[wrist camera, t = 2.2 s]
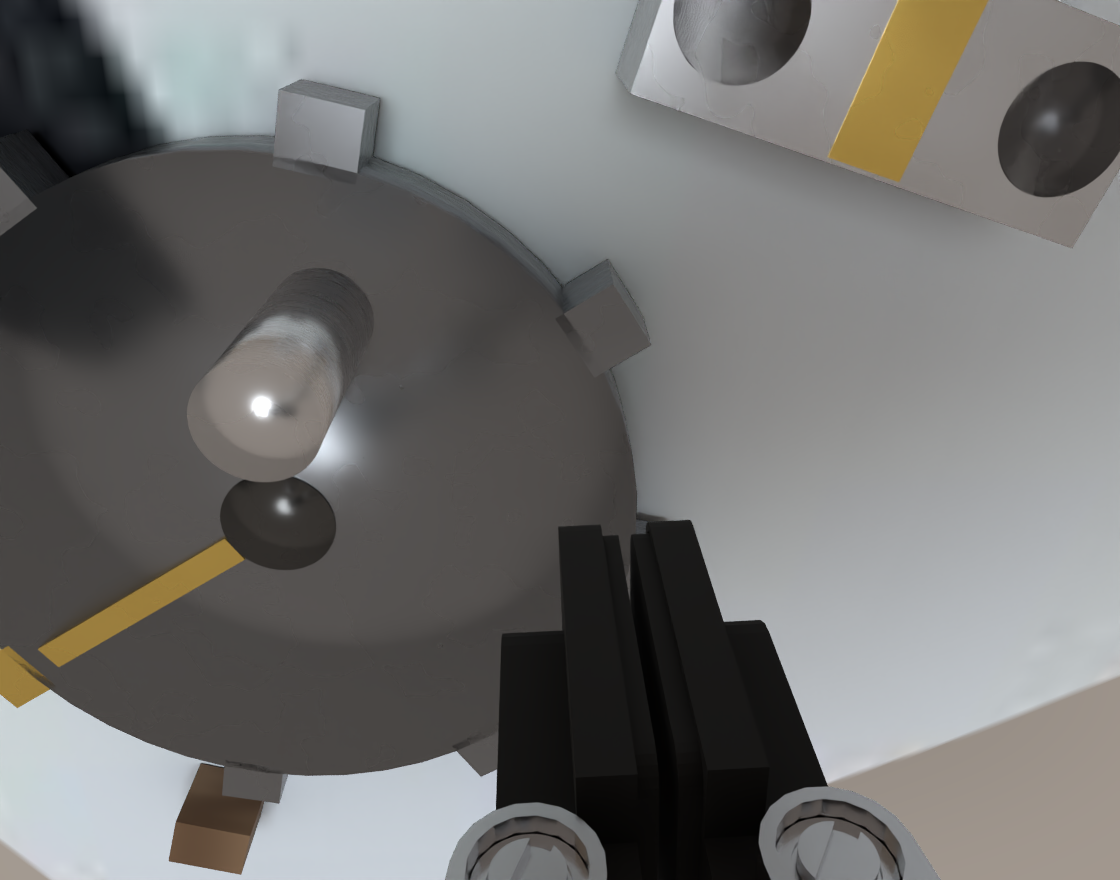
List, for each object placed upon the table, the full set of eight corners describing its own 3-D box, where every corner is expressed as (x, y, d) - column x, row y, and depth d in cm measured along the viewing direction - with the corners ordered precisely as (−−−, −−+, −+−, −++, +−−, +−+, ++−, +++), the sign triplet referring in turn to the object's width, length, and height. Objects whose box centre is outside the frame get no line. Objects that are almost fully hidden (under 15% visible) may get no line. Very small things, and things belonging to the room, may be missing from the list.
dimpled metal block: (1078, 39, 21) (1190, 53, 17) (988, 204, 22) (1073, 248, 19) (678, -119, 19) (709, -140, 16) (615, 72, 21) (630, 93, 17)
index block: (269, 777, 31) (250, 836, 29) (260, 815, 32) (241, 874, 30) (200, 763, 31) (175, 822, 29) (193, 801, 32) (168, 861, 30)
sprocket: (805, 239, 22) (919, 356, 16) (544, 810, 32) (545, 1035, 25) (-120, -69, 19) (-487, -90, 12) (-104, 674, 28) (-304, 893, 22)
